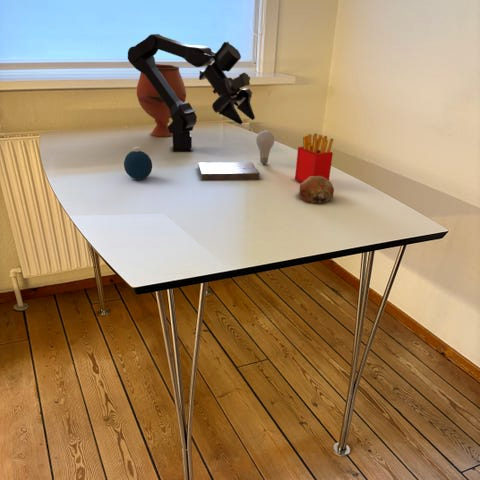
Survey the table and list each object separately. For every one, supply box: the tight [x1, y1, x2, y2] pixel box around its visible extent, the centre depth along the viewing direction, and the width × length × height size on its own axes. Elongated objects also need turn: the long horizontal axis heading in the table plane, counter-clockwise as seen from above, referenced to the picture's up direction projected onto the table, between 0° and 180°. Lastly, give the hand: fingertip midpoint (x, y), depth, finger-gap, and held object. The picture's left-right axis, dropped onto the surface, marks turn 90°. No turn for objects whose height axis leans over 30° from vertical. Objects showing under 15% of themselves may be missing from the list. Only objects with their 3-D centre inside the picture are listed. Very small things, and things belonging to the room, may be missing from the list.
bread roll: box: [298, 176, 335, 205], centre depth 140 cm, size 10×10×8 cm
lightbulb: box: [255, 130, 275, 165], centre depth 166 cm, size 6×6×11 cm
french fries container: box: [294, 132, 334, 184], centre depth 150 cm, size 7×9×14 cm
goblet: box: [136, 63, 187, 137], centre depth 193 cm, size 19×19×25 cm
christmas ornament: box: [123, 146, 153, 181], centre depth 147 cm, size 8×8×10 cm
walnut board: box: [197, 162, 260, 181], centre depth 157 cm, size 18×12×2 cm, turn 99°
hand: (247, 121), depth 164 cm, fingers open, 9 cm apart
